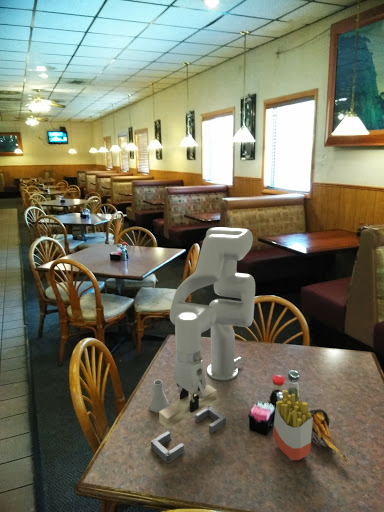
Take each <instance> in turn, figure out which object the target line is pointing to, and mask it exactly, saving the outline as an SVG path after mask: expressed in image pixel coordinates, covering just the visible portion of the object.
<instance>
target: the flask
mask: <svg viewBox="0 0 384 512" xmlns="http://www.w3.org/2000/svg"><path fill="white" fill-rule="evenodd" d="M153 385H154V388H153V389H154V390H153V393H152V397H151V399H150V402H149V411H151V412H154V413H156V414H157V413H158V414H159V411H161V410H163V409H165V408H167V407H168V406H170V403H169V400H168V398H167V396H166V393H165V391H164V389H163V380H162V379H155V380H154V381H153Z"/></svg>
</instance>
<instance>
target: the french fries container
mask: <svg viewBox="0 0 384 512" xmlns="http://www.w3.org/2000/svg"><path fill="white" fill-rule="evenodd" d="M275 405H276V406H275V411H274V418H273V419H274V421H273V431H272V432H273V433H272V435H273V439H274V440H275V443H276V444H277V447H278V449H279V450H281V451H282V452H283V453H284V455H286V456H287V457H288V458H289V460H290V459H291V461H300V460H302V459H303V458H305V457H307V456H308V455H310V454H311V446H312V436H311V434H312V422H313V417H312V416H311V413H310V412H309V403H308V402H306V401H303V400H302V399H300V398H299V399H298V400H297V401H296V394H294V393H291V394H289V391H288V389H284V390H282V397H280V398H279V400H278V401H276V402H275Z"/></svg>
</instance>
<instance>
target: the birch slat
mask: <svg viewBox="0 0 384 512" xmlns="http://www.w3.org/2000/svg"><path fill="white" fill-rule="evenodd" d="M204 392H205V394H206V397H204V398H203V399H199V409H198V410H196V411H194V412H192V413H191V412H190V400H191V396H190V394H189V396H187V397H185V398H183V399H181V400H180V399H179V400H177V401H176V402H174V403H172V404H169V406H168V407H167V408H165V409H163V410H161V411H159V413H158V414H159V415H158V416H159V417H158V418H159V420H158V421H159V423H160V424H162V425H163V426H164V427H165V428H166V429H167V430H168V429H170V428H171V427H173V426H175V425H176V424H178V423H180V422H181V421H183V420H185V419H187V418H188V417H190V416H191V415H193V414H196V412H197V413H198V412H199V411H201V410H203V409H204V408H206V407H208V406H209V405H210V404H212V403H213V402H215V401H217V400H218V390H217V389H216V388H214V386H211V385H210V384H206V388H205V389H204ZM195 396H196V394H194V397H195Z"/></svg>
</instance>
